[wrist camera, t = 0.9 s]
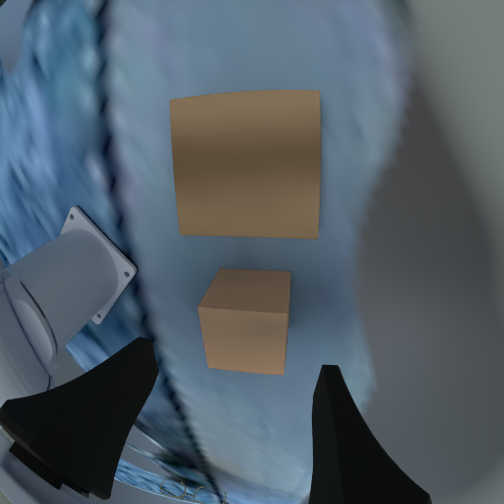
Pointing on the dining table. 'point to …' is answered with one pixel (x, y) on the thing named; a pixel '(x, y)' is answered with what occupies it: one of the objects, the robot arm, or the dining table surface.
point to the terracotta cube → (246, 320)
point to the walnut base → (248, 163)
